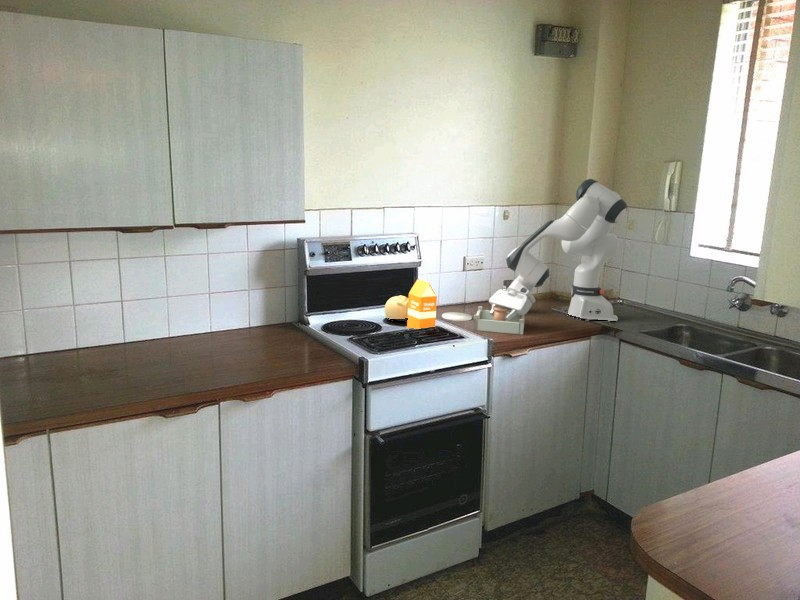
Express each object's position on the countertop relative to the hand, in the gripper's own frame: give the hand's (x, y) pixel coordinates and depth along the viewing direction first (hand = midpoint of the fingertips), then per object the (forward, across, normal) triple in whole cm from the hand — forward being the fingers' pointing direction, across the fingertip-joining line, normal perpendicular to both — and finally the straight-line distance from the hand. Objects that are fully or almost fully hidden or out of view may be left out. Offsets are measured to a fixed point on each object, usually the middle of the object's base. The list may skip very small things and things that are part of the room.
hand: (498, 316), depth 281 cm
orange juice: (+27, -8, -21) cm, 35 cm away
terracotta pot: (+3, 0, +4) cm, 4 cm away
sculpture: (+26, -27, -20) cm, 42 cm away
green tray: (+3, 0, +4) cm, 4 cm away
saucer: (+7, -21, -1) cm, 22 cm away
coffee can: (-16, -21, +23) cm, 35 cm away
